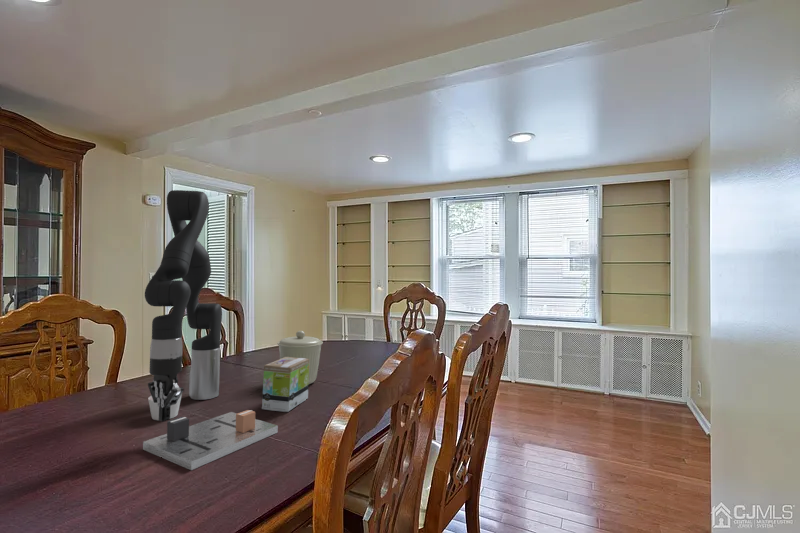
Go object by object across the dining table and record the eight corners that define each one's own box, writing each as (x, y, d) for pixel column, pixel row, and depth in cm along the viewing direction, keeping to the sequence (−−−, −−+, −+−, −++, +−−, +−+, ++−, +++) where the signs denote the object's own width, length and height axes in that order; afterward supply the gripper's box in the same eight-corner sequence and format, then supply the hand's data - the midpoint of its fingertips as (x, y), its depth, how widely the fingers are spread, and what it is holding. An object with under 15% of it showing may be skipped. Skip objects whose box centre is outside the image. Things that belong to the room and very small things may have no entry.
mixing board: (142, 449, 104) (143, 441, 104) (231, 418, 126) (231, 411, 126) (191, 470, 94) (191, 461, 94) (277, 432, 116) (277, 425, 116)
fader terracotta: (235, 430, 112) (236, 413, 112) (247, 425, 115) (248, 409, 115) (243, 433, 110) (243, 415, 110) (255, 428, 114) (255, 411, 114)
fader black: (166, 438, 106) (167, 420, 106) (181, 433, 109) (182, 416, 109) (173, 441, 104) (174, 423, 104) (188, 436, 107) (189, 418, 108)
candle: (187, 414, 129) (188, 394, 129) (160, 424, 121) (161, 402, 121) (168, 410, 133) (169, 390, 133) (140, 418, 124) (141, 397, 125)
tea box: (289, 412, 132) (290, 367, 132) (261, 410, 134) (262, 364, 134) (309, 398, 147) (310, 357, 147) (283, 396, 149) (284, 355, 149)
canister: (298, 391, 155) (300, 335, 155) (266, 383, 164) (267, 331, 165) (331, 381, 170) (332, 330, 170) (299, 374, 180) (300, 326, 180)
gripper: (138, 354, 110) (135, 419, 109) (166, 360, 103) (164, 429, 103) (165, 350, 116) (164, 411, 116) (194, 355, 110) (192, 420, 109)
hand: (164, 420), depth 109 cm, fingers closed
